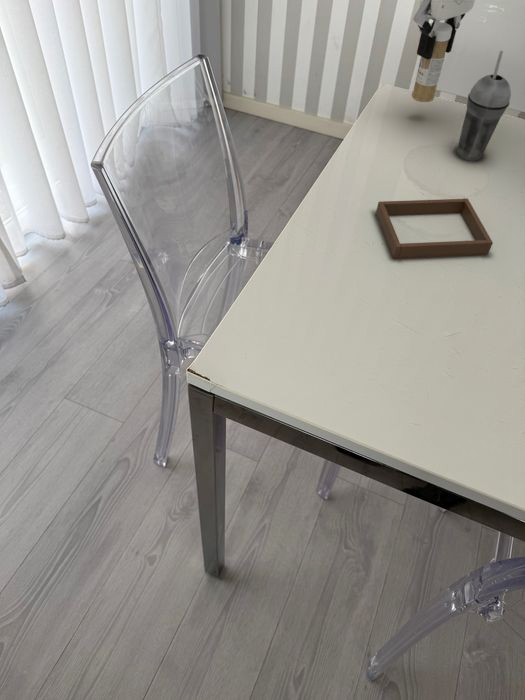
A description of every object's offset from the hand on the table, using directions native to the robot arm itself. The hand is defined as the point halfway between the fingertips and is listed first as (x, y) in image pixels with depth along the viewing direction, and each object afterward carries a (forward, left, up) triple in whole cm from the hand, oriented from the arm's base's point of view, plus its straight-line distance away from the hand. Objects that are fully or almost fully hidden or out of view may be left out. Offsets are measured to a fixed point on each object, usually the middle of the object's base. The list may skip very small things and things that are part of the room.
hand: (433, 52), depth 107 cm
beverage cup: (-7, +14, -14) cm, 21 cm away
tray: (+8, +37, -14) cm, 40 cm away
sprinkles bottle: (0, 0, -9) cm, 9 cm away
